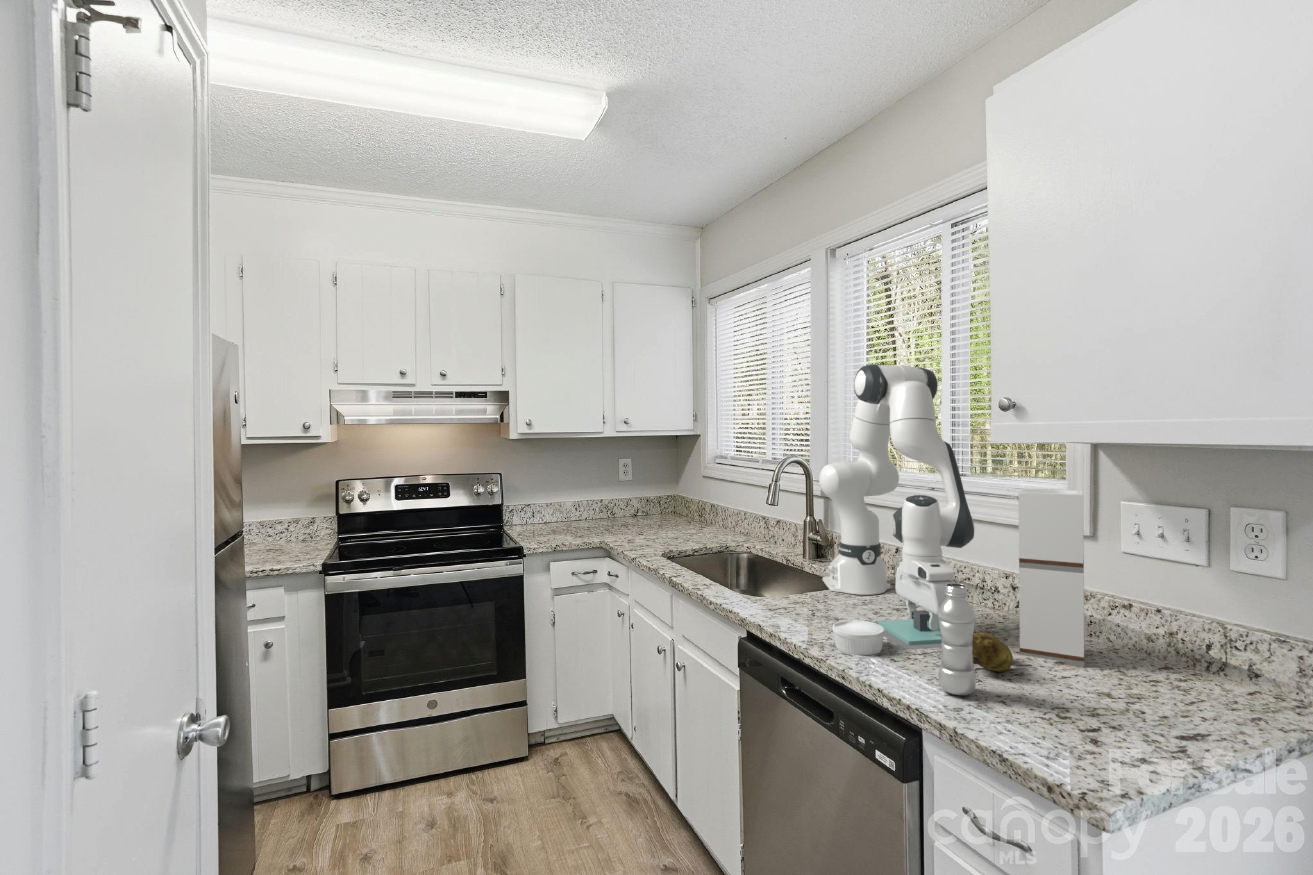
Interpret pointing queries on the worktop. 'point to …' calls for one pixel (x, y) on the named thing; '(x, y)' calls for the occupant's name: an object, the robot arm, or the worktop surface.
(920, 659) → the worktop surface
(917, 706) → the worktop surface
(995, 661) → the potato
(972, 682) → the plastic bottle
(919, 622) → the lid
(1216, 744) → the worktop surface
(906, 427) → the robot arm
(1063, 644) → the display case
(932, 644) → the mat
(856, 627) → the ramekin
